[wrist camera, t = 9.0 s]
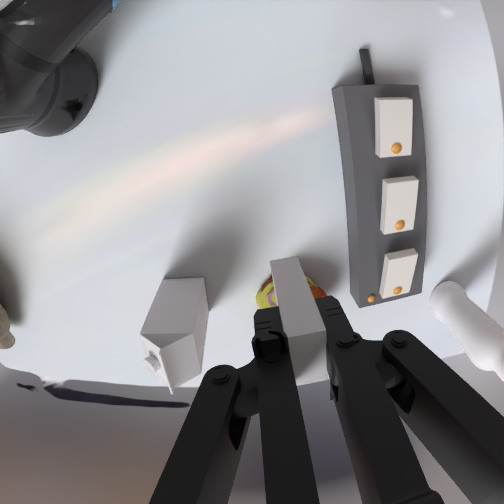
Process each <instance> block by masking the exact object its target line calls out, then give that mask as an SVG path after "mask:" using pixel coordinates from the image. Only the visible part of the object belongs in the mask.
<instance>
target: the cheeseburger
mask: <svg viewBox="0 0 504 504" xmlns="http://www.w3.org/2000/svg"><path fill="white" fill-rule="evenodd" d="M305 277H306V280H307V282H308V285H309V287H310V290H311V292H312V295H313V297H314V299H315V298H320V297H325V296H327V295H326V293H325V292H324V291H323V290H322V289H321V288H320V287H316V286H315V284H314V282H313V281H312V280H311V279H310V278H309V277H307V276H305ZM256 303H257V305H258V306H259V308H260V309H263V308H269V307H275V306H277V302H276V296H275V290H274V284H273V278H271V279H269V280H268V281H267V282H266V283H265V284H264V285H263V286H262V288H261V289H260V290H259V291H258V292H257V295H256Z"/></svg>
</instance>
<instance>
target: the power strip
mask: <svg viewBox="0 0 504 504" xmlns="http://www.w3.org/2000/svg"><path fill="white" fill-rule="evenodd" d="M359 52H360V57H361V62H362V67H363V73H364V78H365V84H366V85H348V86H340V87H337V88H334V89H332V95H333V101H334V107H335V114H336V120H337V128H338V135H339V143H340V151H341V159H342V168H343V178H344V188H345V200H346V212H347V227H348V244H349V266H350V293H351V295H352V297H353V298H354V300H355V302H356V303H357V305H358V307H359V308H362V307H366V306H371V305H375V304H379V303H383V302H388V301H392V300H396V299H400V298H404V297H408V296H412V295H416V294H419V293H421V292H422V283H423V272H424V260H425V244H426V218H427V182H426V156H425V141H424V129H423V119H422V110H421V101H420V94H419V87H418V85H375V83H374V77H373V72H372V66H371V61H370V56H369V51H368V49H360V50H359ZM382 97H407V98H410V99H412V100H413V116H412V148H411V155H406V156H394V157H383V158H380V157H378V156H377V155H376V154H375V99H374V98H382ZM406 176H414V177H416V178H417V179H418V180H419V183H418V193H417V203H416V211H415V219H414V227H413V230H407V231H402V232H396V233H391V234H385V235H384V234H383V233H382V231H381V230H380V222H381V206H382V184H383V179H388V178H397V177H406ZM412 248H414V249H415V251H416V252H417V253H418V257H417V262H416V266H415V271H414V275H413V279H412V283H411V287H410V291H409V293H405V294H401V295H396V296H392V297H388V298H384V299H382V297H381V295H380V293H379V291H380V285H381V278H382V272H383V265H384V258H385V254H387V253H392V252H397V251H402V250H407V249H412Z"/></svg>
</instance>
